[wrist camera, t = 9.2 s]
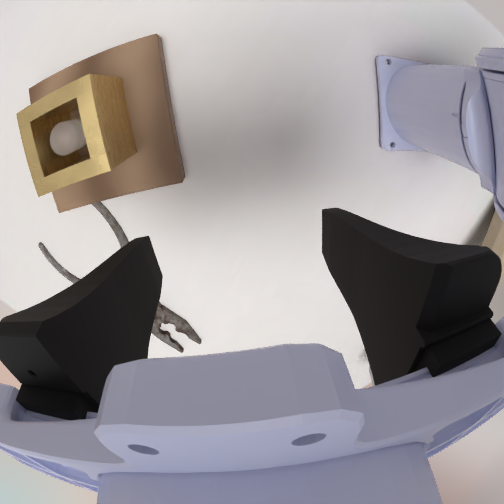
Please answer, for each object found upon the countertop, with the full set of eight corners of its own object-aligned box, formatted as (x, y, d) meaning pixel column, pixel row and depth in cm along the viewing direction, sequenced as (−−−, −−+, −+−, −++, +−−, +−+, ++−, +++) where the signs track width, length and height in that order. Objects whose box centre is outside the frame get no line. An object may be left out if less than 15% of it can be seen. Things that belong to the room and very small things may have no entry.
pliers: (68, 177, 18) (243, 309, 26) (72, 174, 19) (243, 304, 27) (33, 254, 21) (184, 355, 29) (37, 249, 22) (185, 349, 30)
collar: (121, 77, 14) (89, 73, 10) (137, 152, 17) (110, 170, 13) (57, 105, 14) (16, 114, 10) (74, 173, 17) (38, 196, 13)
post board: (161, 38, 14) (136, 16, 9) (184, 176, 20) (170, 206, 15) (39, 88, 14) (-8, 93, 9) (67, 205, 20) (31, 239, 15)
